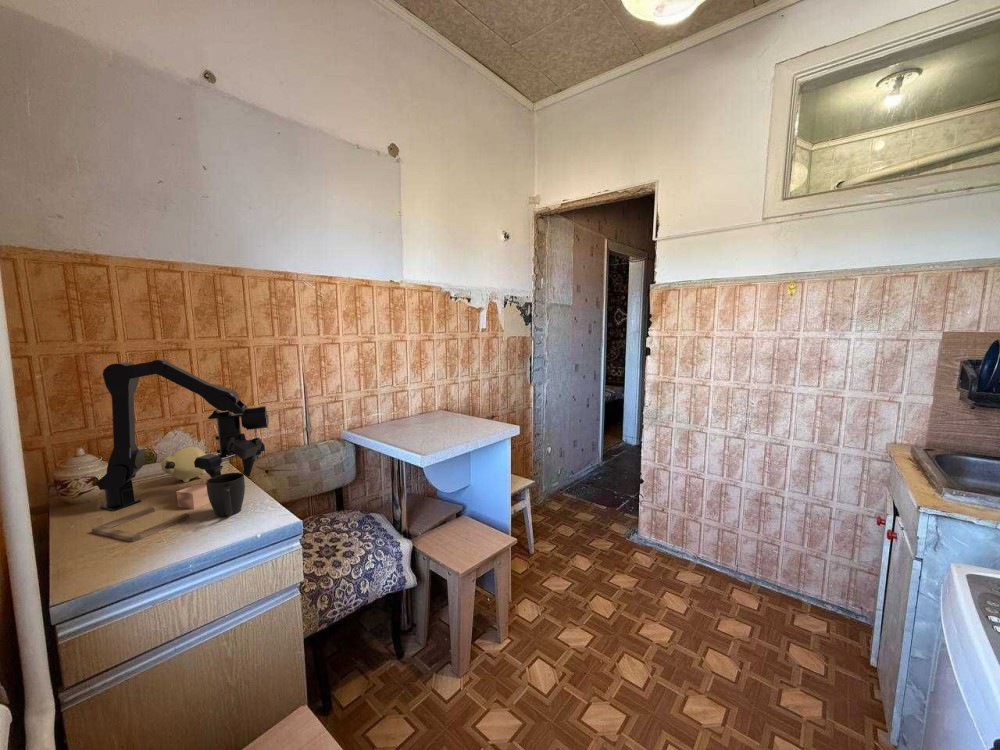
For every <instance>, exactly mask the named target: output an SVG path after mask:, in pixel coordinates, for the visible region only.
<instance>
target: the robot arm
mask: <svg viewBox="0 0 1000 750" xmlns="http://www.w3.org/2000/svg"><path fill="white" fill-rule="evenodd" d="M153 375H158V376H160V377H162V378H164V379H166V380H168V381H171V382H172V383H174V384H177V385H178V386H181V387H182V388H184V389H186V390H188V391H191V392H192V393H194V394H196V395H198V396H199V397H201V398H202V399H204V400H205V402H207V403H208V404H209V405H211V406H212V407H213V408H215V409H214V410H213V412H212V413H211V415H209V416H208V417H207V418H208V420H216V425H217V434H218V435H215V441H216V440H218V444H219V448H218V449H216V453H217V454H211V453H207V454H206V455H204V456H200V457H197V458H196V459H195V461H194V465H195V468H200V469H204V470H205V471H206V474H208V476H209V477H210V478H212V477H215V476H218V475H222V470H223V467H224V466H223V465H221V464H223V463H222V462H223V461H225V460H228V459H230V458H234V457H238V458H240V459H241V460H242V461H241V462H242V465H243V471H244V473H245V476H246V477H250V476H251V473H252V470H253V467H254V463H255V462H256V459H257V458H258V457H259V456H261V455H262V452H265V451H266V446H265V444H264V442H262V439H261V438H260V437H258V436H257V437H254V438H252V439H246V435H245V433H242V429H241V427H242V428H244V429H245V430H247V431H251V430H258V429H259V430H260V429H268V428H269V422H270V421H269V414H268V411H267V406H266V405H263V406H255V407H248V406H247V405H246V404H245V403H244V401H242V400H241V399H240V395H239V393H238V392H237V391H235V390H234V389H230V388H228V387H224V386H221V385H218V384H213V383H210V382H208V381H207V380H204V379H202V378H200V377H199V376H196V375H194V374H192V373H191V372H189V371H186V370H185V369H183V368H180V367H178V366H177V365H175V364H172V363H171V362H169V360H166V359H154V360H152V361H146V362H142V363H141V362H140V363H136V364H135V363H133V362H130V361H129V362H128V361H122V362H116V363H111V364H109V365H107V366H106V367H104V369H103V371H102V377H103V381H104V385H105V388H106V389H107V391H108V393H109V394H110V397H111V410H112V411H111V412H112V413H111V415H112V437H113V439H112V441H113V443H112V444H113V448H112V451H111V452H110V456H109V459H108V461H107V467H106V474H105V475H103V477H101V478H100V479H99V480H98V481H97V482H96V486H97V488H98V489H99V490H100V491H104V497H105V503H104V504H101V505H99V508H100V509H105V510H110V511H116V510H120V509H124V508H125V507H129V506H131V505H134V504H137V503H139V502H141V501H142V499H141V498H135V493H134V486H133V485H134V484H133V479H134V478H135V477H136V475H137V473H138V472H139V471H140V470H141V469H142V468H143V466H144V464H145V463H146V462H147V460H146V459H145V452H146V449H145V448H141V449H140V448H139V447H138V446H137V443H136V423H135V422H136V420H135V417H136V416H135V393H136V390H137V387H138V385H139V381H140V378H142V377H147V376H153ZM240 417H241V418H240ZM240 419H241V420H240Z"/></svg>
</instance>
